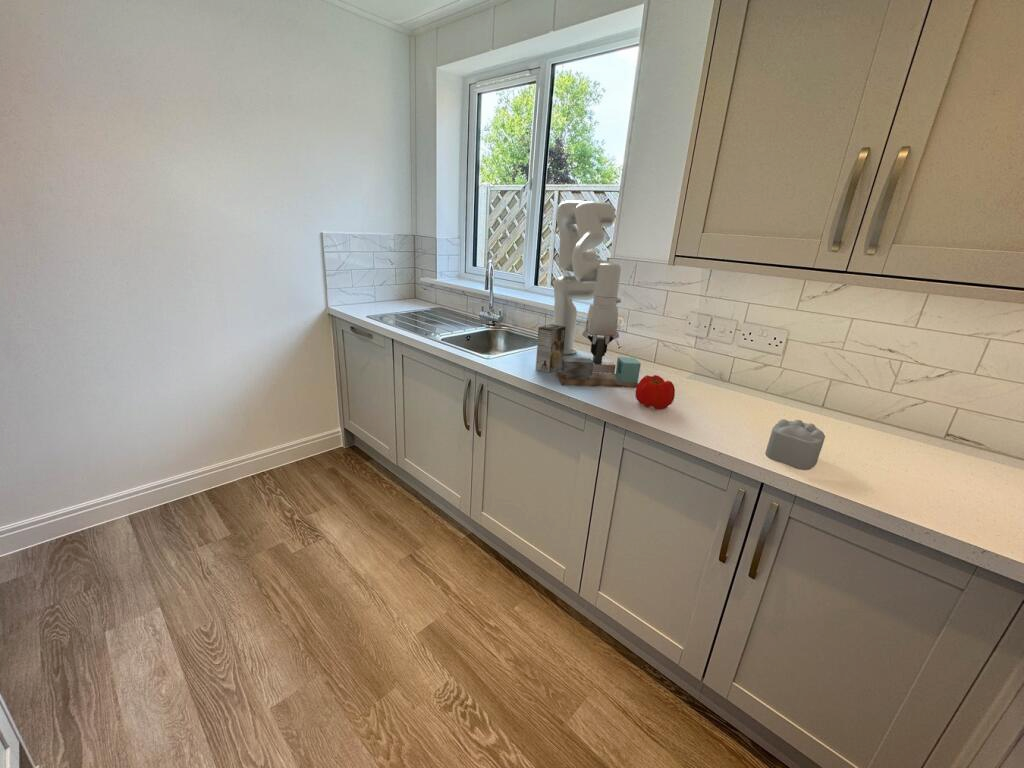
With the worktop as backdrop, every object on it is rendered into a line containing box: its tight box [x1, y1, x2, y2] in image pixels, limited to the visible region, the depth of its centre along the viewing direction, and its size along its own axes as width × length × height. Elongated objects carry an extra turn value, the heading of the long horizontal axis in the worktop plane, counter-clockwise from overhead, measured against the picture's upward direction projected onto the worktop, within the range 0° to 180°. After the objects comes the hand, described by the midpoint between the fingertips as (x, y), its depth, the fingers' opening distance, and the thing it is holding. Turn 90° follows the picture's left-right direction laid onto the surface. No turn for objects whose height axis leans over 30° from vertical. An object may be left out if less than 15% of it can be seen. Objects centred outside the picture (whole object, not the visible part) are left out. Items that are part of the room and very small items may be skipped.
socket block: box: [614, 356, 641, 383], centre depth 156 cm, size 6×7×7 cm
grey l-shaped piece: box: [592, 336, 617, 374], centre depth 154 cm, size 16×3×12 cm, turn 93°
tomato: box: [635, 374, 676, 411], centre depth 136 cm, size 11×12×9 cm
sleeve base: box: [556, 356, 639, 389], centre depth 156 cm, size 27×12×7 cm, turn 93°
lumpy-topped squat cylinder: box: [765, 418, 826, 471], centre depth 109 cm, size 10×13×9 cm
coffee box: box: [535, 323, 566, 374], centre depth 165 cm, size 9×6×16 cm
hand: (598, 354), depth 154 cm, fingers closed on grey l-shaped piece, 2 cm apart
